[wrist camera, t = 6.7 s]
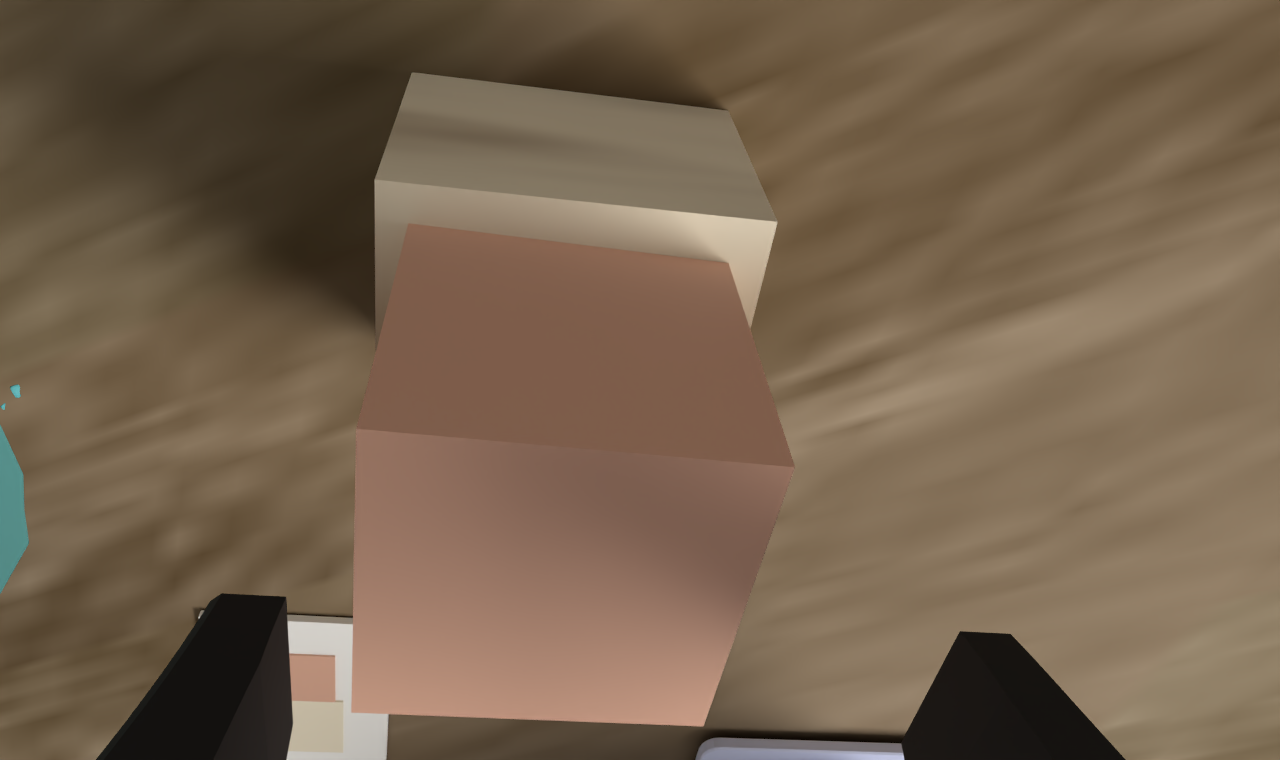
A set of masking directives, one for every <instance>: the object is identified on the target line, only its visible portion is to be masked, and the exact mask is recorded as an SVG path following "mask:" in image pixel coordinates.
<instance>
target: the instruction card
mask: <svg viewBox="0 0 1280 760" xmlns="http://www.w3.org/2000/svg"><path fill="white" fill-rule="evenodd" d="M203 612H204V610H201V611H200V614H199V618H200V617H201V615H202V614H203ZM287 621H288V640H289V658H290V676H291V694H292V712H293V727H292V733H291V738H290V743H289V749H288V754H287V759H286V760H387V741H388V718H389V714H375V713H351V702H352V645H353V618H344V617H324V616H304V615H287Z"/></svg>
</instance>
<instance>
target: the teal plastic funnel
mask: <svg viewBox="0 0 1280 760" xmlns="http://www.w3.org/2000/svg"><path fill="white" fill-rule="evenodd" d="M11 391H12V393H13V394H14V396H15V397H16V398H19V397H20V396H21V395H20V393H19V392H20V386H19V385H18V384H17V385H14V386H11ZM0 407H1V408H2V409H4V410H5V404H3V405H2V406H0ZM28 544H29V540H28V533H27V526H26V519H25V512H24V484H23V473H22V471H21V469H20V466H19V464H18V462H17V460H16V458H15V456H14V453H13V451H12V449H11V447H10V445H9V443H8V440H7V438H6V436H5V434H4V432H3V430H2V428H1V426H0V593H1V592H2V590H3V588H4V586H5V584H6V583H7V581H8V579H9V577H10V576H11V574H12V572H13V570H14V569H15V567H16V565H17V563H18V562H19V560H20V558H21V556H22V554H23V553H24V551H25V549H26V547H27V546H28Z"/></svg>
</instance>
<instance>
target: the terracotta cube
mask: <svg viewBox="0 0 1280 760" xmlns="http://www.w3.org/2000/svg"><path fill="white" fill-rule="evenodd" d="M794 469H795V466H794V463H793V460H792V457H791V453H790V450H789V447H788V444H787V441H786V438H785V435H784V432H783V429H782V426H781V423H780V420H779V417H778V414H777V410H776V407H775V404H774V401H773V398H772V395H771V392H770V389H769V386H768V383H767V380H766V377H765V374H764V371H763V367H762V364H761V361H760V358H759V355H758V352H757V349H756V346H755V343H754V340H753V337H752V334H751V331H750V327H749V324H748V321H747V318H746V315H745V312H744V309H743V306H742V303H741V300H740V297H739V294H738V291H737V288H736V284H735V281H734V278H733V275H732V272H731V269H730V266H729V263H724V262H716V261H708V260H700V259H692V258H684V257H676V256H668V255H660V254H652V253H644V252H636V251H628V250H620V249H611V248H603V247H595V246H587V245H579V244H571V243H563V242H555V241H547V240H539V239H531V238H523V237H515V236H507V235H499V234H491V233H483V232H475V231H467V230H459V229H450V228H442V227H434V226H426V225H418V224H410V223H408V227H407V231H406V235H405V239H404V243H403V247H402V251H401V254H400V258H399V262H398V266H397V270H396V274H395V278H394V282H393V286H392V290H391V294H390V298H389V302H388V306H387V310H386V314H385V318H384V322H383V326H382V329H381V333H380V337H379V341H378V345H377V349H376V353H375V357H374V361H373V365H372V369H371V373H370V377H369V381H368V385H367V389H366V393H365V397H364V400H363V404H362V408H361V412H360V416H359V420H358V424H357V428H356V475H355V532H354V588H353V645H352V702H351V713H375V714H400V715H426V716H451V717H477V718H502V719H527V720H553V721H578V722H604V723H629V724H654V725H680V726H704V723H705V720H706V718H707V715H708V712H709V709H710V706H711V704H712V701H713V698H714V695H715V692H716V689H717V687H718V684H719V681H720V678H721V675H722V672H723V670H724V667H725V664H726V661H727V658H728V655H729V653H730V650H731V647H732V644H733V641H734V638H735V636H736V633H737V630H738V627H739V624H740V622H741V619H742V616H743V613H744V610H745V607H746V605H747V602H748V599H749V596H750V593H751V590H752V588H753V585H754V582H755V579H756V576H757V573H758V571H759V568H760V565H761V562H762V559H763V556H764V554H765V551H766V548H767V545H768V542H769V540H770V537H771V534H772V531H773V528H774V525H775V523H776V520H777V517H778V514H779V511H780V508H781V506H782V503H783V500H784V497H785V494H786V491H787V489H788V486H789V483H790V480H791V477H792V474H793V472H794Z"/></svg>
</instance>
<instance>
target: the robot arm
mask: <svg viewBox="0 0 1280 760" xmlns="http://www.w3.org/2000/svg"><path fill="white" fill-rule="evenodd" d="M292 727H293V712H292V694H291V676H290V658H289V640H288V621H287V603H286V597H279V596H259V595H240V594H221V595H219V596H217V597H216V598H214V599H213V600H211V601H210V603H209V604H208V606H207V607H206V609H205V610H204V612H203V614H202V615H201V617H200V618H199V620H198V621H197V623H196V624H195V626H194V628H193V629H192V630H191V632H190V633H189V635H188V636H187V638H186V639H185V641H184V642H183V644H182V645H181V647H180V648H179V650H178V651H177V652H176V654H175V655H174V657H173V658H172V660H171V661H170V663H169V664H168V665H167V667H166V668H165V670H164V671H163V672H162V674H161V675H160V676H159V678H158V679H157V681H156V682H155V683H154V685H153V686H152V687H151V689H150V690H149V691H148V693H147V694H146V696H145V697H144V698H143V700H142V701H141V702H140V704H139V705H138V706H137V708H136V709H135V710H134V712H133V713H132V714H131V716H130V717H129V718H128V720H127V721H126V722H125V724H124V725H123V726H122V727H121V729H120V730H119V731H118V733H117V734H116V735H115V736H114V738H113V739H112V740H111V741H110V743H109V744H108V745H107V746H106V748H105V749H104V750H103V751H102V753H101V754H100V755H99V757H98V758H97V759H96V760H286V759H287V754H288V749H289V743H290V738H291V733H292ZM695 760H1125V759H1124V758H1123V756H1122V755H1121V754H1120V753H1119V752H1118V751H1117V750H1116V749H1115V748H1114V747H1113V745H1112V744H1111V743H1110V742H1109V741H1108V740H1107V739H1106V738H1105V737H1104V736H1103V734H1102V733H1101V732H1100V731H1099V730H1098V729H1097V728H1096V727H1095V726H1094V724H1093V723H1092V722H1091V721H1090V720H1089V719H1088V718H1087V717H1086V716H1085V715H1084V713H1083V712H1082V711H1081V710H1080V709H1079V708H1078V707H1077V706H1076V705H1075V703H1074V702H1073V701H1072V700H1071V699H1070V698H1069V697H1068V696H1067V695H1066V693H1065V692H1064V691H1063V690H1062V689H1061V688H1060V687H1059V686H1058V685H1057V684H1056V682H1055V681H1054V680H1053V679H1052V678H1051V677H1050V676H1049V675H1048V674H1047V672H1046V671H1045V670H1044V669H1043V668H1042V667H1041V666H1040V665H1039V664H1038V663H1037V662H1036V660H1035V659H1034V658H1033V657H1032V656H1031V655H1030V654H1029V653H1028V652H1027V651H1026V650H1025V649H1024V648H1023V647H1022V646H1021V645H1020V643H1019V642H1018V641H1017V640H1016V639H1015V638H1014V637H1013V636H1012V635H1011V634H1000V633H981V632H961V631H960V632H959V634H958V636H957V638H956V640H955V642H954V644H953V646H952V647H951V649H950V651H949V653H948V655H947V657H946V659H945V661H944V663H943V664H942V666H941V668H940V670H939V672H938V674H937V676H936V678H935V680H934V681H933V683H932V685H931V687H930V689H929V691H928V693H927V695H926V697H925V699H924V700H923V702H922V704H921V706H920V708H919V710H918V712H917V714H916V716H915V717H914V719H913V721H912V723H911V725H910V727H909V729H908V731H907V733H906V735H905V736H904V738H903V740H902V742H901V743H874V742H843V741H813V740H782V739H751V738H721V737H719V738H712V739H709V740H706V741H705V742H704V743H702V744H701V746H700V747H699V750H698V753H697V756H696V759H695Z"/></svg>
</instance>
